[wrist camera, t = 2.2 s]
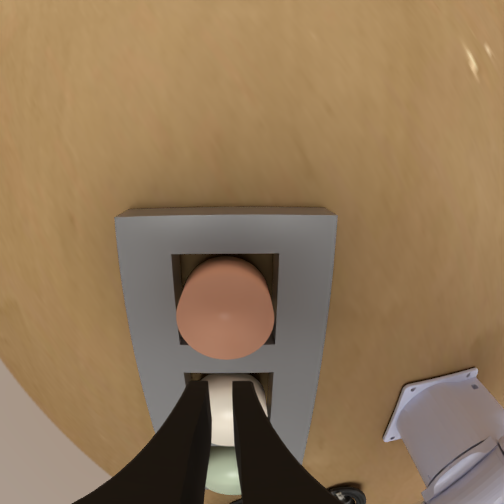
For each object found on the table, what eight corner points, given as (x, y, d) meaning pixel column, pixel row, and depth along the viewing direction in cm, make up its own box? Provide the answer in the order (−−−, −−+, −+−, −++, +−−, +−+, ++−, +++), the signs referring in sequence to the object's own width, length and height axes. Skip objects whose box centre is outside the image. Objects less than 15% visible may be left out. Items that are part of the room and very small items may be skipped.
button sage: (262, 441, 23) (265, 466, 20) (260, 470, 24) (263, 494, 21) (201, 441, 22) (199, 467, 20) (207, 471, 24) (205, 494, 21)
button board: (324, 207, 19) (337, 215, 17) (293, 467, 27) (296, 486, 24) (128, 209, 18) (114, 217, 16) (176, 468, 26) (173, 487, 24)
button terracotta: (270, 255, 18) (276, 274, 15) (267, 332, 19) (272, 358, 17) (181, 256, 18) (171, 274, 15) (187, 332, 19) (180, 358, 16)
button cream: (266, 369, 20) (270, 397, 18) (263, 418, 22) (266, 445, 19) (191, 369, 20) (186, 397, 17) (198, 418, 21) (195, 445, 19)
